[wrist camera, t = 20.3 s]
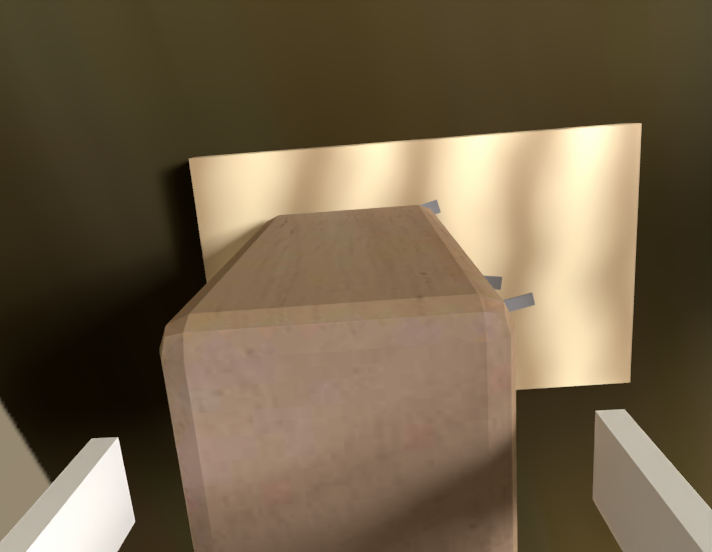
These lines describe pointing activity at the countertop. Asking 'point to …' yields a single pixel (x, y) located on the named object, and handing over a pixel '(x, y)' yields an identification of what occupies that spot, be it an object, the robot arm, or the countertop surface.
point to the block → (346, 392)
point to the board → (476, 225)
